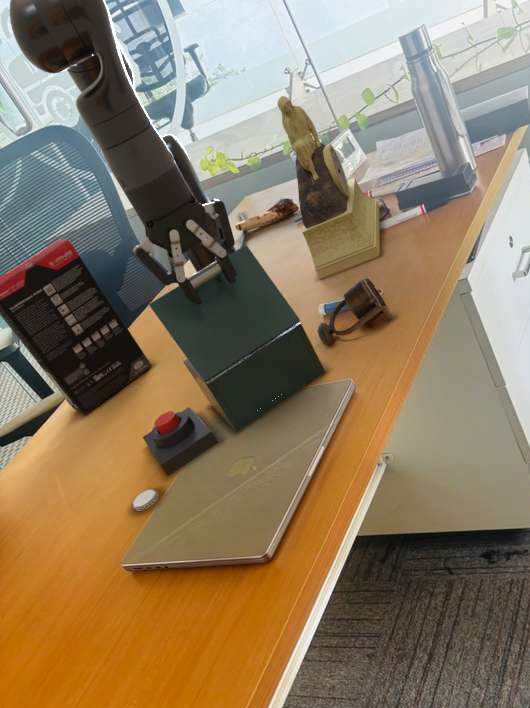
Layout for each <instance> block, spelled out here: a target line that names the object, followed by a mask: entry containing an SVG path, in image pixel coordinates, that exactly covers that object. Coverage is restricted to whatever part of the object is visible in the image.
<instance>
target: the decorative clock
mask: <svg viewBox="0 0 530 708" xmlns="http://www.w3.org/2000/svg"><path fill="white" fill-rule="evenodd" d="M276 105H277V107H278V109H279V111H280V112H281V123H282V127H283V129H284V131H285V133H286V135H287V138H288V140H289V143H290V145H291V149H292V151H293V152H294V154H295V161H294V165H295V174H296V180H297V190H298V204H299V205H298V206H299V211H300V217H301V222H302V225H303V227H302V232H301V233H302V235H303V237H304V239H305V241H306V244H307V247H308V249H309V252H310V255H311V258H312V261H313V265H314V269H315V272H316V274H317V276H318V278H319V280H322V279H324V278H327V277H330V276H332V275H335V274H338V273H340V272H342V271H345V270H348V269H350V268H352V267H355V266H358V265H361V264H363V263H366V262H368V261H371V260H373V259H376V258H379V257H380V256H381V255H380V253H381V251H380V249H381V247H380V246H381V245H380V243H381V239H380V238H381V236H380V235H381V228H380V227H381V223H380V222H381V220H380V219H381V217H380V216H381V211H380V210H381V207H380V204H379V202H378V200H377V198H373V197H371V196H369V195H367V194H366V193H365V192H363V190H362V189H361V187H360V186H359V184H358V182H357V179H356V177H352V178H350V179H348V180H347V176H346V173H345V171H344V168H343V165H342V162H341V160H340V158H339V156H338V153H337V151H336V150H335V147H334V146H333V145H332V144H328V145H326V144H324V143H323V142H321V140H320V139H319V135H318V132H317V128H316V126H315V124H314V123H313V120H312V119H311V118H310V116H309V115H308V114H307V112H306V111H305V109H304V108H303V107H302V106H300V105H293V103H292V100H291V99H289V97H287V96H285V95H282V96H280V97H279V98H278V100H277V104H276Z"/></svg>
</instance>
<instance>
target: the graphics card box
mask: <svg viewBox="0 0 530 708" xmlns="http://www.w3.org/2000/svg"><path fill="white" fill-rule="evenodd" d="M0 317H1V319H3V320H4V322H5V323H6V324H7V325H8V327H9V328H10V330H11V331H12V332H13V333H14V335H15V336H16V338H17V339H19V341H20V342H21V343H22V344H23V345H24V347H25V349H26V350H27V351H28V352H29V354H30V355H31V356H32V358H33V359H34V360H35V362H36V363H37V364H38V365H39V366H40V368H41V369H42V370H43V372H44V373H45V374H46V376H47V377H48V378H49V379H50V381H51V382H52V383H53V385H54V386H55V387H56V388H57V390H58V391H59V392H60V394H61V395H62V396H63V398H65V400H66V402H67V403H68V404H69V405H70V406H71V408H72V409H74V410H75V411H77V412H79V413H81V414H83V415H86V414H88V413H89V412H90V411H92V410H94V408H96V407H97V406H99V405H100V404H102V403H103V402H104V401H105V400H107V399H109V398H110V397H111V396H112V395H114V394H115V393H117V392H118V391H119V390H121V389H122V388H124V387H125V386H127V385H128V384H129V383H131V382H132V381H134V379H136V378H138V377H140V375H142V374H143V373H144V372H146V371H147V370H149V369H150V368H151V367H152V363H151V362H150V360H149V359H148V357H147V356H146V354H145V353H144V351H143V349H142V348H141V346H140V345H139V344H138V342H137V341H136V339H135V338H134V337H133V336H134V335H132V333H131V331H130V330H129V329H128V327H127V326H126V324H125V322H124V321H123V320H122V318H121V317H120V315H119V314H118V312H117V311H116V309H115V308H114V306H113V305H112V303H111V302H110V301H109V299H108V297H107V296H106V294H105V293H104V291H103V289H102V287H100V285H99V283H98V282H97V281H96V279H95V277H94V275H93V274H92V273H91V271H90V269H89V268H88V266H87V265H86V264H85V262H84V261H83V259H82V257H81V256H80V254H79V253H78V251H77V250H76V247H74V245H73V243H72V242H70V240H69V239H67V238H64V239H63V238H62V239H59V240H58V241H55V242H54V243H53V244H51V245H49V246H48V247H46V248H44V249H43V250H41V251H40V252H38V253H36V254H35V255H33V256H31V257H30V258H28V259H26V260H25V261H23V262H22V263H20V264H18V265H17V266H15V267H13V268H12V269H10V270H8V271H7V272H5V273H3V274H2V275H0Z"/></svg>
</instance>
